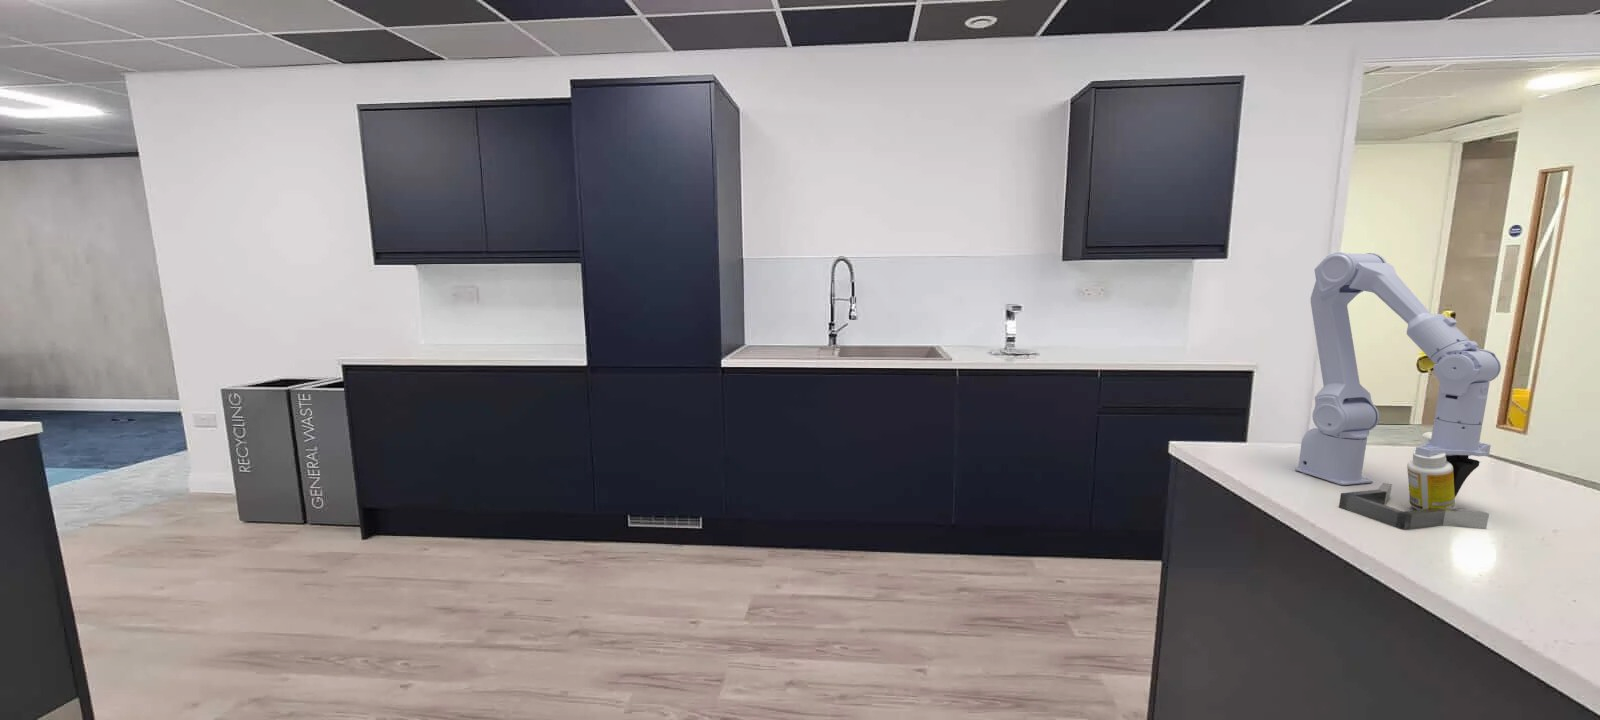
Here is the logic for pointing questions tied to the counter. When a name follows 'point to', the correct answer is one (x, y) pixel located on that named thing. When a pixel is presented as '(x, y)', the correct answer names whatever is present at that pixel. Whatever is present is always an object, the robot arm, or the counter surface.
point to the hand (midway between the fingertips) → (1445, 497)
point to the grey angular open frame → (1375, 508)
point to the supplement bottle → (1431, 482)
